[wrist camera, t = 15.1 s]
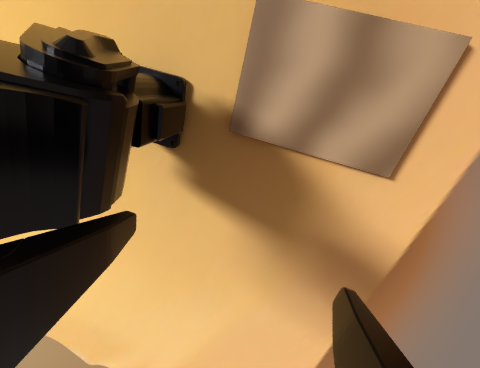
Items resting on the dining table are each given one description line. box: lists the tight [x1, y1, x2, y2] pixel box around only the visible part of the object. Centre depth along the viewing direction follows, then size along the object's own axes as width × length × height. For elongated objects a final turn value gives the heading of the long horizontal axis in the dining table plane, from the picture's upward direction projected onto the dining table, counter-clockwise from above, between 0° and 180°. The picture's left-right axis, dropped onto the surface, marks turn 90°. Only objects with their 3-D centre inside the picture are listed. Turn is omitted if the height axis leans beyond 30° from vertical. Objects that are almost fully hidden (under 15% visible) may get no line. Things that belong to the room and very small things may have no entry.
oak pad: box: [229, 0, 472, 178], centre depth 17 cm, size 14×10×1 cm
